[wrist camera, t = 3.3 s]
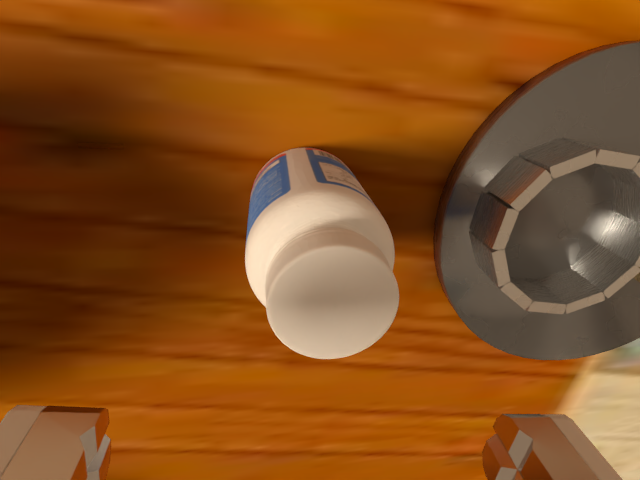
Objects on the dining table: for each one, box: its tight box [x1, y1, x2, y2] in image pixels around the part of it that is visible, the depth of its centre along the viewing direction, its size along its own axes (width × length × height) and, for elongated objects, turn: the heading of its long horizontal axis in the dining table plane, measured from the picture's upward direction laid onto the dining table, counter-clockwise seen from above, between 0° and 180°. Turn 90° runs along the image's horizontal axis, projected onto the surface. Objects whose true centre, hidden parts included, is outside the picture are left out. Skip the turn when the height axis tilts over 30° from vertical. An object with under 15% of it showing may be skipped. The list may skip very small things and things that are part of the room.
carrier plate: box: [433, 41, 640, 360], centre depth 21 cm, size 18×18×4 cm
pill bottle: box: [245, 148, 399, 359], centre depth 17 cm, size 6×5×10 cm
